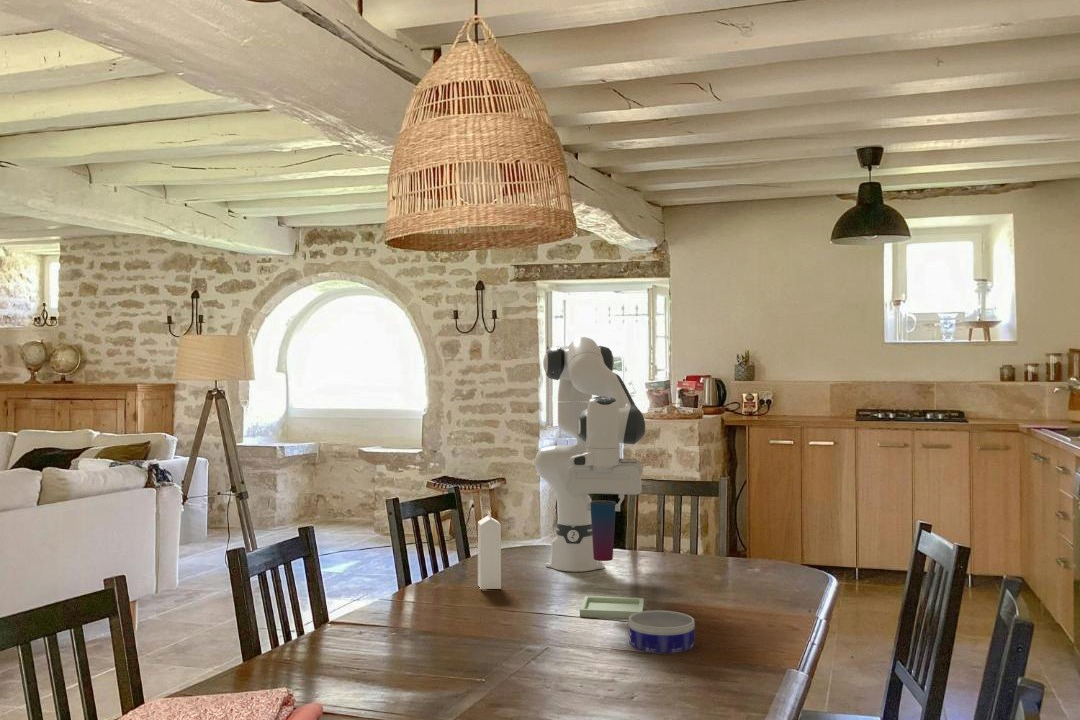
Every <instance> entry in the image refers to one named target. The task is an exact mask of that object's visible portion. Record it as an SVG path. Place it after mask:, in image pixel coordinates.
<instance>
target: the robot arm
mask: <svg viewBox="0 0 1080 720" xmlns="http://www.w3.org/2000/svg"><path fill="white" fill-rule="evenodd" d="M542 363H543V370H544V372H545V376H547V377H548V379H551V380H554V381H559V383H558V390H557V391H558V392H557V424H558V425H557V426H559V427H558V428H559V429H560V430H561V431H563V432H564V433H566V434H567V435H570V436H572V437H573V438H575V440H577V444H576V445H575V444H573V445H567V444H566V445H565V444H564V445H563V444H562V445H561V444H560V445H556V444H555V445H549V446H544V447H541V448H540V449H539V450H538V452H537V453H536V455H535V457H534V468H535V471H536V473H537V474H538V475H539V477H541V478H542V479H543V480H544V481H545V482H546V483H548V485H549V486H550V487H551V489H552V491H553V492H554V496H555V498H556V505H557V506H556V507H557V508H556V510H557V522H556V527H555V530H556V533H555V534H556V537H555V538H553V539H552V541H551V549H550V551H551V552H550V555H551V556H550V560H549V561H546V563H545V567H546V568H551V569H555V570H557V571H564V572H576V573H577V572H588V571H594V570H598V569H599V570H600V569H605V568H606V567H605V564H604V561H597V560H594V557H593V540H592V523H591V504H590V502H591V501H593V499H592V498H591V496H590V495H589V494H591V495H592V494H596V495H597V494H599V495H600V494H601V495H618V499H619V501H618V503H616V505H615V511H616V512H621V504H622V503H623V501H624V499H625V495H635V496H636V495H640V493H641V492H642V489H643V488H642V486H643V485H642V477H641V476H642V474H643V473H644V472H643V471H644V469H643V467H644V466H643V462H641V461H640V460H637V459H636V458H621V444H626V445H635V444H637V443H639V441H640V440H642V438H644V436H645V434H646V433H645V432H646V421H645V418H644V415H643V413H642V412H641V410H640V409H639V408H638V406H637V405H636V404H635V401H634V400H633V398H632V395H631V394H630V392H629V390H628V388H627V387H626V384H625V383H624V381H623V379H622V377H621V376H620V375H619V374H617V373H616V372H614V368H615V358H614V355H613V352H612V350H611V349H610V348H609V347H606V346H603V345H598V344H597V342H596V341H595V340H593V339H592V338H590V337H586V336H581V337H577V338H576V339H575V338H574V340H572V341H571V342H570V344H569V345H566V346H565V345H564V346H559V345H556V346H551V347H549V348H548V349H547V350H546V352H545V355H544V357H543V361H542ZM593 396H594V397H593Z"/></svg>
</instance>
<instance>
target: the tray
mask: <svg viewBox="0 0 1080 720" xmlns="http://www.w3.org/2000/svg"><path fill="white" fill-rule="evenodd" d="M644 599H645V598H643V597H623V596H622V597H620V596H619V597H618V596H594V595H593V596H592V595H591V596H590V595H589V596H587V595H586V596H585V595H584V597H583V599H582V603H581V605H580V607H579V617H580V618H581V617H583V618H584V617H585V618H603V619H605V618H607V619H608V618H609V619H610V618H611V619H629V616H631V615H632V614H634V613H638V612H642V611H644V607H645V606H644V605H645V604H644V601H645V600H644Z"/></svg>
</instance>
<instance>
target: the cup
mask: <svg viewBox="0 0 1080 720" xmlns="http://www.w3.org/2000/svg"><path fill="white" fill-rule="evenodd" d="M590 504H591V523H592V540H593V557H594V560H597V561H602V562H609V561H613V559H614V558H613V557H614V542H615V526H616V525H615V524H616V512H617V511H615V505H616V504H617V502H616V501H614V500H592V501H591V502H590Z"/></svg>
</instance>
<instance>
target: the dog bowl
mask: <svg viewBox="0 0 1080 720" xmlns="http://www.w3.org/2000/svg"><path fill="white" fill-rule="evenodd" d="M627 619H628V621H627V622H628V643H629V646H630V647H632V648H634V649H635V650H639V651H642V652H646V653H651V652H652V654H663V653H668V654H677V653H676V652H680V653H683V652H682V651H685V652H687V651H686V650H688V651H690V650H691V649H690V648H692V647H693V648H694V646H695V631H696V630H695V628H696V627H695V626H696V625H695V624H696V623H695V618H694V617H692V616H691V615H689V614H687V613H682V612H679V611H672V610H663V609H662V610H659V609H658V610H643V611H642V612H638V613H634V614H632V615H631V616H629V618H627ZM693 648H692V649H693ZM689 649H690V650H689Z"/></svg>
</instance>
